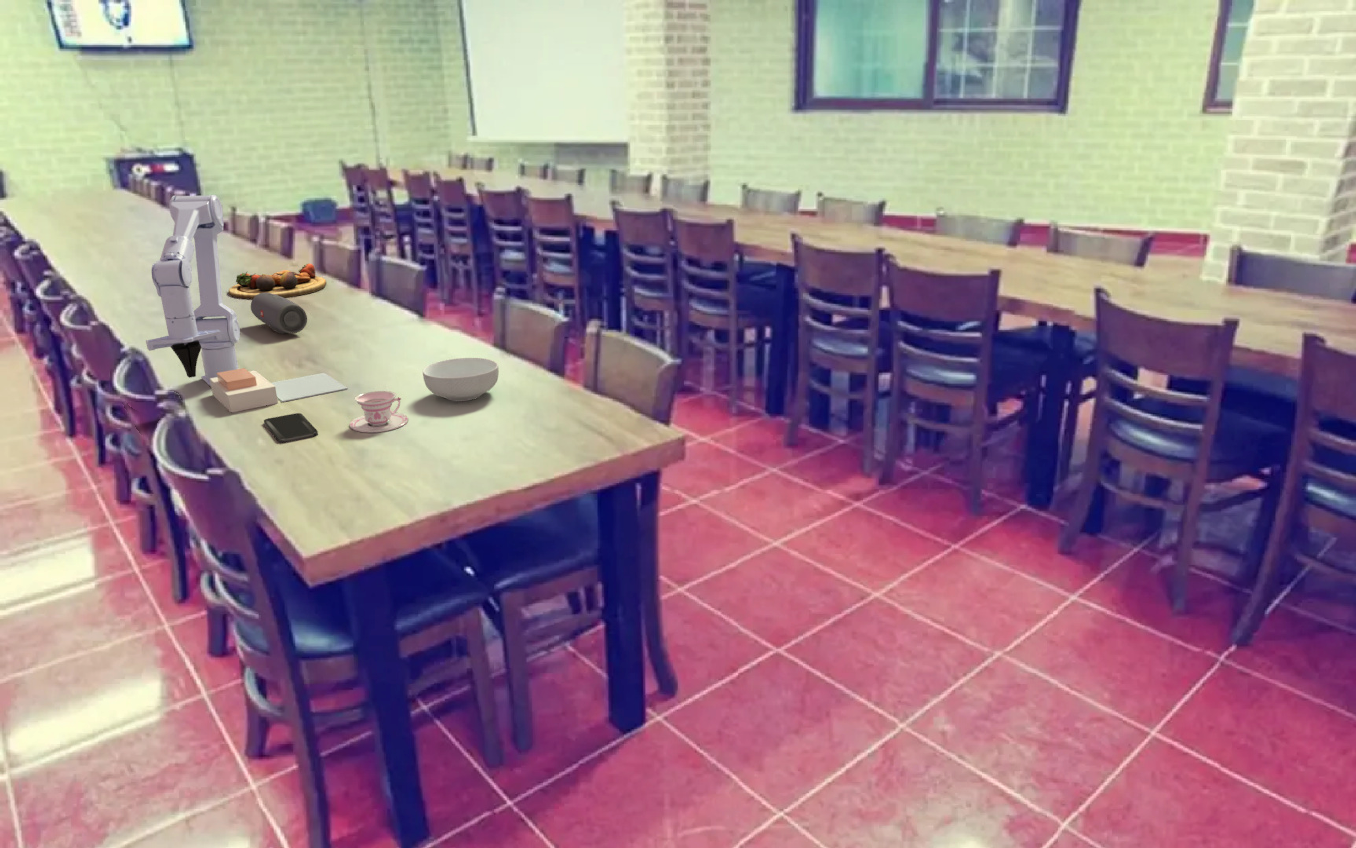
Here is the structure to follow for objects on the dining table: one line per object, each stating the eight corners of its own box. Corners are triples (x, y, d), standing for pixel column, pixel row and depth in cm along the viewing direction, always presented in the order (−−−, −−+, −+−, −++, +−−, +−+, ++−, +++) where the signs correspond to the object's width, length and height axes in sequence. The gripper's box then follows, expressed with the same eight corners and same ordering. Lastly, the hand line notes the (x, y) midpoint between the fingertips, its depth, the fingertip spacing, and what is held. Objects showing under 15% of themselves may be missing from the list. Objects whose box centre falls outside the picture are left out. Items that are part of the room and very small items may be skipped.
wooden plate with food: (308, 277, 349) (304, 255, 346) (341, 290, 326) (337, 266, 323) (217, 291, 330) (213, 268, 327) (245, 305, 307) (241, 281, 304)
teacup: (348, 436, 192) (344, 408, 190) (350, 417, 203) (347, 390, 200) (409, 430, 195) (405, 402, 193) (407, 412, 206) (404, 385, 204)
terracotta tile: (218, 381, 214) (216, 372, 213) (245, 376, 217) (244, 368, 217) (228, 390, 207) (227, 382, 207) (256, 385, 211) (255, 376, 210)
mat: (261, 385, 224) (261, 384, 224) (324, 373, 232) (324, 372, 232) (282, 402, 212) (282, 401, 212) (347, 389, 221) (347, 387, 221)
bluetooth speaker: (251, 325, 279) (245, 292, 275) (282, 320, 284) (277, 288, 281) (278, 340, 263) (273, 305, 259) (311, 334, 269) (306, 300, 265)
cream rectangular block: (212, 394, 217) (209, 378, 216) (257, 386, 223) (254, 370, 222) (231, 412, 206) (228, 395, 204) (278, 403, 211) (275, 386, 210)
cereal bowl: (493, 381, 226) (490, 353, 223) (506, 402, 211) (504, 372, 209) (421, 390, 220) (418, 361, 218) (430, 411, 205) (427, 381, 203)
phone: (279, 440, 188) (262, 419, 199) (280, 445, 188) (263, 424, 199) (319, 432, 192) (300, 412, 203) (320, 437, 192) (301, 417, 204)
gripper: (146, 324, 194) (159, 386, 199) (220, 314, 202) (231, 373, 207) (139, 318, 199) (152, 379, 204) (212, 308, 208) (222, 367, 212)
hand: (191, 376), depth 206 cm, fingers closed
